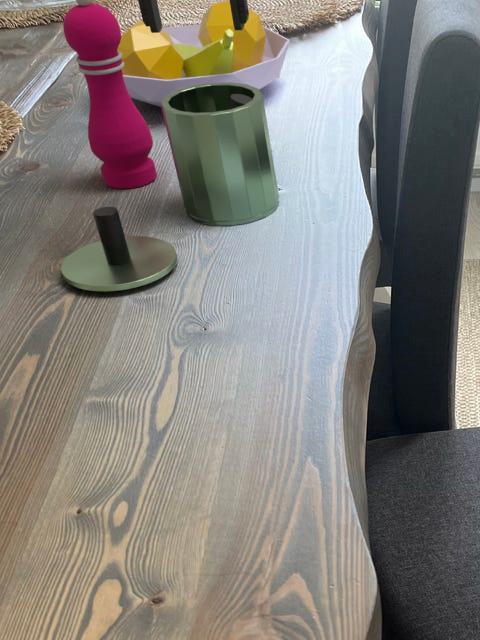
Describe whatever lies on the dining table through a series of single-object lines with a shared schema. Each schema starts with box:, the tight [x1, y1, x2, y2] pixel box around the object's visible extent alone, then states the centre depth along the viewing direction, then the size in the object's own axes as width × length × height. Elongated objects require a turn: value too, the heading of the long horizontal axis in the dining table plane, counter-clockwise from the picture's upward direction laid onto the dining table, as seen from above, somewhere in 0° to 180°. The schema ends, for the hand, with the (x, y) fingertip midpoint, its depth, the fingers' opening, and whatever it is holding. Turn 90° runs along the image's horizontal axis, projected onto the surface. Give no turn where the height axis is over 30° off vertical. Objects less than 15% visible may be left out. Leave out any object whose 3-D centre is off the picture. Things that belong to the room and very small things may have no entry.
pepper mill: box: [62, 0, 158, 190], centre depth 115 cm, size 7×7×20 cm
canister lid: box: [60, 206, 178, 292], centre depth 102 cm, size 12×12×6 cm
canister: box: [160, 82, 280, 227], centre depth 112 cm, size 11×11×12 cm
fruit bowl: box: [117, 0, 291, 108], centre depth 139 cm, size 28×27×11 cm
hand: (198, 29), depth 103 cm, fingers open, 8 cm apart
